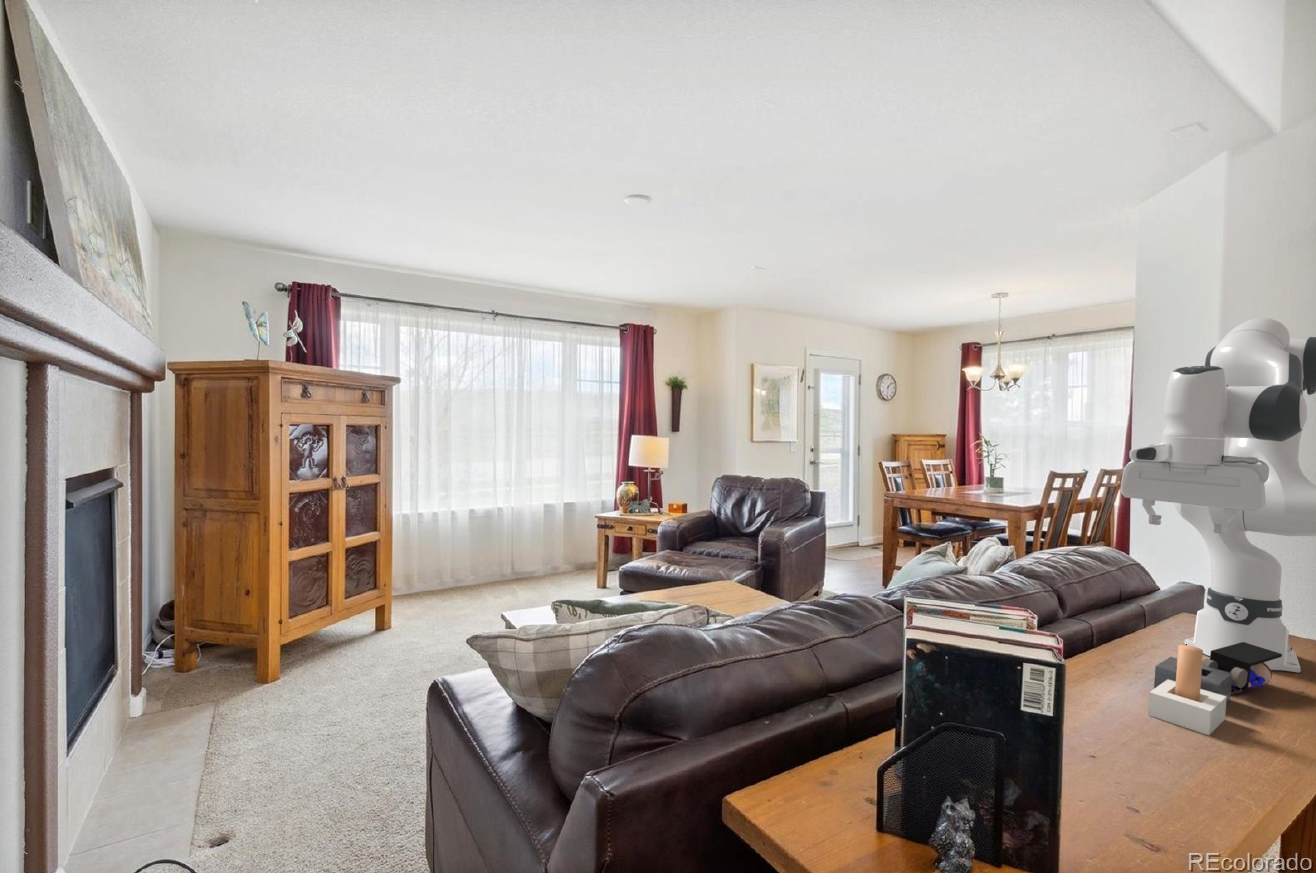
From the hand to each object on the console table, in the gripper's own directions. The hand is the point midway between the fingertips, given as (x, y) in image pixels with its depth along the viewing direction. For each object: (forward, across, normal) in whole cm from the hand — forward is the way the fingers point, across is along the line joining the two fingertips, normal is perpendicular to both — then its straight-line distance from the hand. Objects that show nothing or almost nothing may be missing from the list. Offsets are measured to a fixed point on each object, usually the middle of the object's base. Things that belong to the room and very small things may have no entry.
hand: (1186, 528), depth 114 cm
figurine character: (+31, -6, -16) cm, 36 cm away
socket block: (+31, -4, +10) cm, 33 cm away
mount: (+31, -2, -2) cm, 31 cm away
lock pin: (+31, -4, +10) cm, 33 cm away
